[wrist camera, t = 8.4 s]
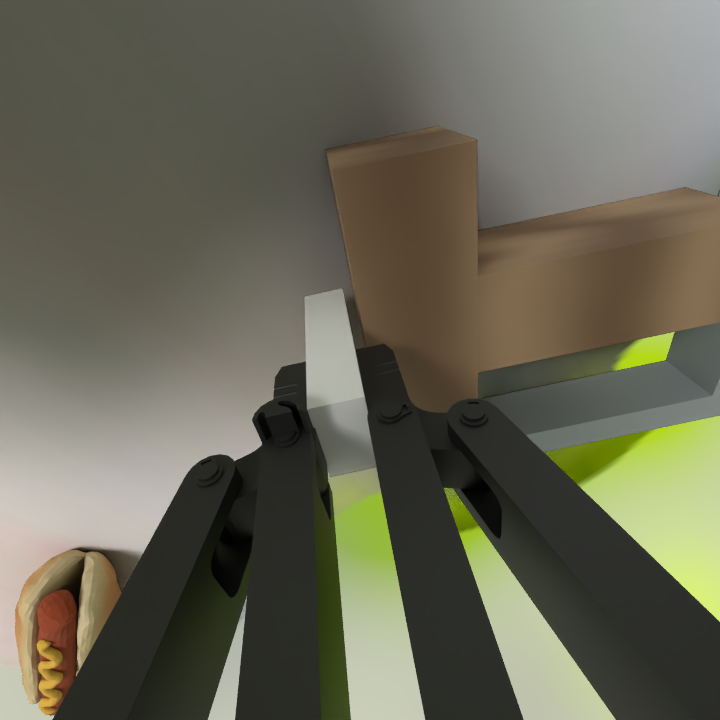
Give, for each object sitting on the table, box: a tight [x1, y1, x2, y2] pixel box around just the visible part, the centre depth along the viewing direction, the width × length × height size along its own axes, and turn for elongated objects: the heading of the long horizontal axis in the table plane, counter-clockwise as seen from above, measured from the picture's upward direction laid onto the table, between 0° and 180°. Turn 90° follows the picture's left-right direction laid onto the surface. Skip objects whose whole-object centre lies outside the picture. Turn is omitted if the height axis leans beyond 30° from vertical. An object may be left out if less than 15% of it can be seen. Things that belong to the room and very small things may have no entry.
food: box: [15, 550, 122, 716], centre depth 26 cm, size 14×6×5 cm, turn 159°
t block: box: [325, 126, 720, 413], centre depth 16 cm, size 14×12×4 cm
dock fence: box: [481, 192, 720, 452], centre depth 17 cm, size 12×15×3 cm
